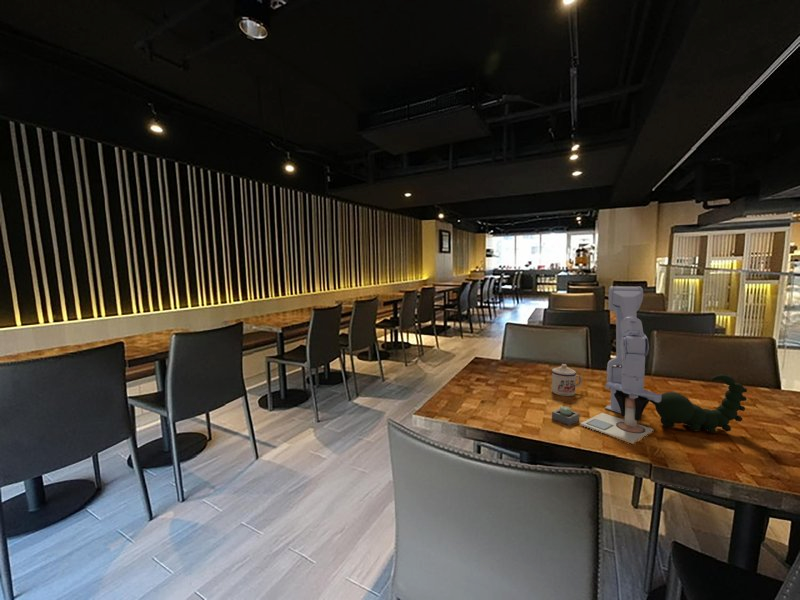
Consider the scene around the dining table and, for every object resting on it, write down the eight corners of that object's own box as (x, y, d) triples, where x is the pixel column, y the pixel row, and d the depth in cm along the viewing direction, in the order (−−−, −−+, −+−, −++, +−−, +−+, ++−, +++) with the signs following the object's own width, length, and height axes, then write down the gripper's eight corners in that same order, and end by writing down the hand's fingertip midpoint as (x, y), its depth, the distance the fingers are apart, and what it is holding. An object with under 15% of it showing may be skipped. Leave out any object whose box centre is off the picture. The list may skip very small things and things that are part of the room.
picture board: (602, 414, 117) (602, 412, 117) (653, 431, 105) (653, 428, 105) (580, 425, 110) (580, 422, 110) (632, 445, 97) (632, 441, 97)
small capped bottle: (626, 420, 108) (628, 396, 108) (639, 424, 106) (640, 399, 105) (621, 423, 106) (623, 398, 106) (634, 427, 104) (635, 401, 103)
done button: (563, 411, 116) (563, 405, 116) (573, 414, 113) (574, 409, 113) (557, 413, 114) (557, 408, 114) (567, 417, 111) (568, 411, 111)
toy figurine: (723, 430, 109) (636, 416, 114) (734, 372, 107) (644, 361, 112) (746, 445, 100) (650, 429, 105) (758, 382, 98) (659, 370, 103)
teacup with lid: (557, 396, 135) (558, 367, 134) (547, 389, 144) (547, 361, 143) (587, 396, 135) (588, 367, 134) (575, 388, 144) (576, 361, 143)
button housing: (561, 414, 118) (562, 407, 118) (579, 421, 113) (579, 413, 113) (551, 419, 115) (552, 412, 114) (569, 425, 110) (569, 418, 109)
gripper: (601, 371, 109) (599, 412, 110) (655, 383, 97) (652, 429, 98) (612, 367, 112) (610, 407, 114) (665, 378, 100) (662, 423, 102)
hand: (630, 417), depth 106 cm, fingers closed on small capped bottle, 3 cm apart
